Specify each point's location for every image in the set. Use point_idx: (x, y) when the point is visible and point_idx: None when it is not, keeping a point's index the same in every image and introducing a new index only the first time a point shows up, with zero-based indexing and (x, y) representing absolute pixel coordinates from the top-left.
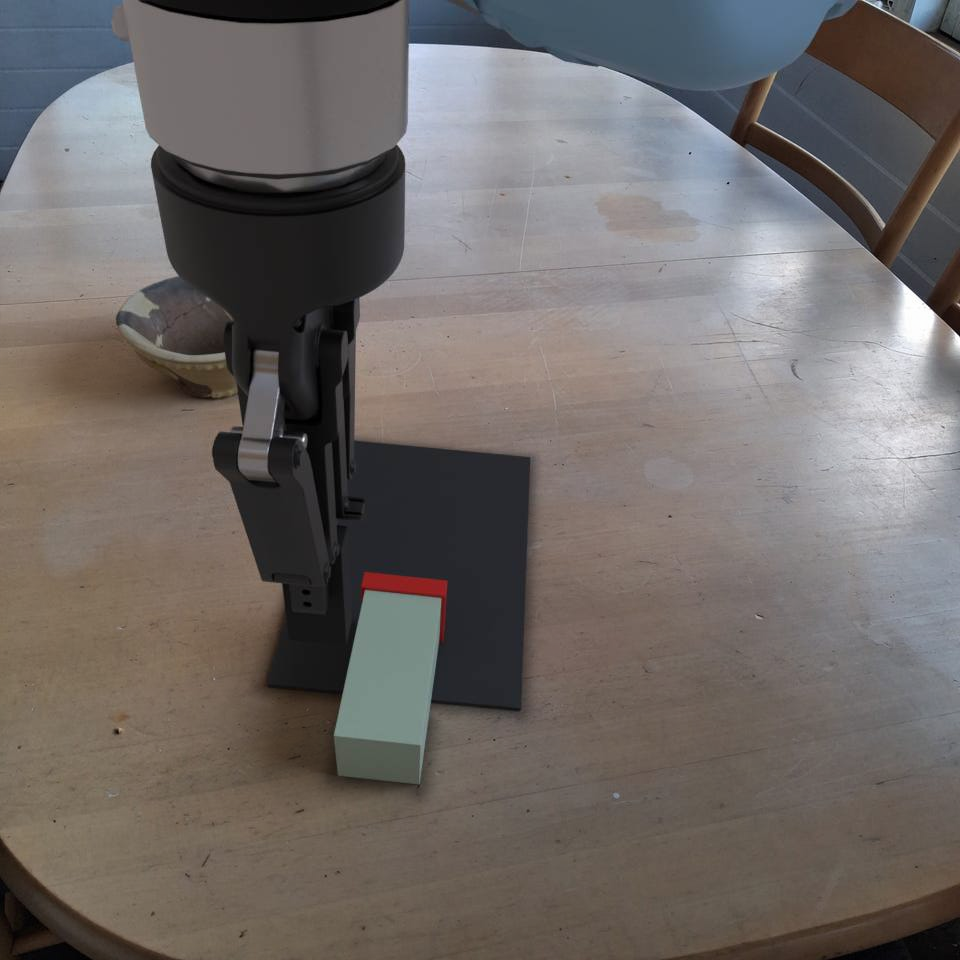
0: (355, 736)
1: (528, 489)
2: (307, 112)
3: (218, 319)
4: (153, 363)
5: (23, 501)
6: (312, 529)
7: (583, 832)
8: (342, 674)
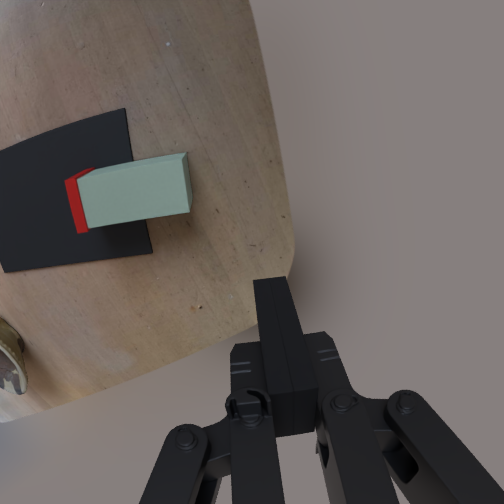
0: (186, 199)
1: None
2: None
3: None
4: (23, 365)
5: (110, 382)
6: (497, 489)
7: (194, 57)
8: None
